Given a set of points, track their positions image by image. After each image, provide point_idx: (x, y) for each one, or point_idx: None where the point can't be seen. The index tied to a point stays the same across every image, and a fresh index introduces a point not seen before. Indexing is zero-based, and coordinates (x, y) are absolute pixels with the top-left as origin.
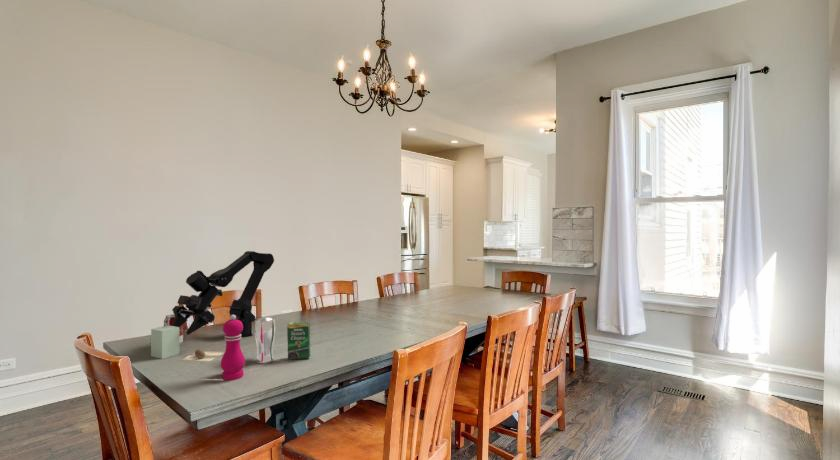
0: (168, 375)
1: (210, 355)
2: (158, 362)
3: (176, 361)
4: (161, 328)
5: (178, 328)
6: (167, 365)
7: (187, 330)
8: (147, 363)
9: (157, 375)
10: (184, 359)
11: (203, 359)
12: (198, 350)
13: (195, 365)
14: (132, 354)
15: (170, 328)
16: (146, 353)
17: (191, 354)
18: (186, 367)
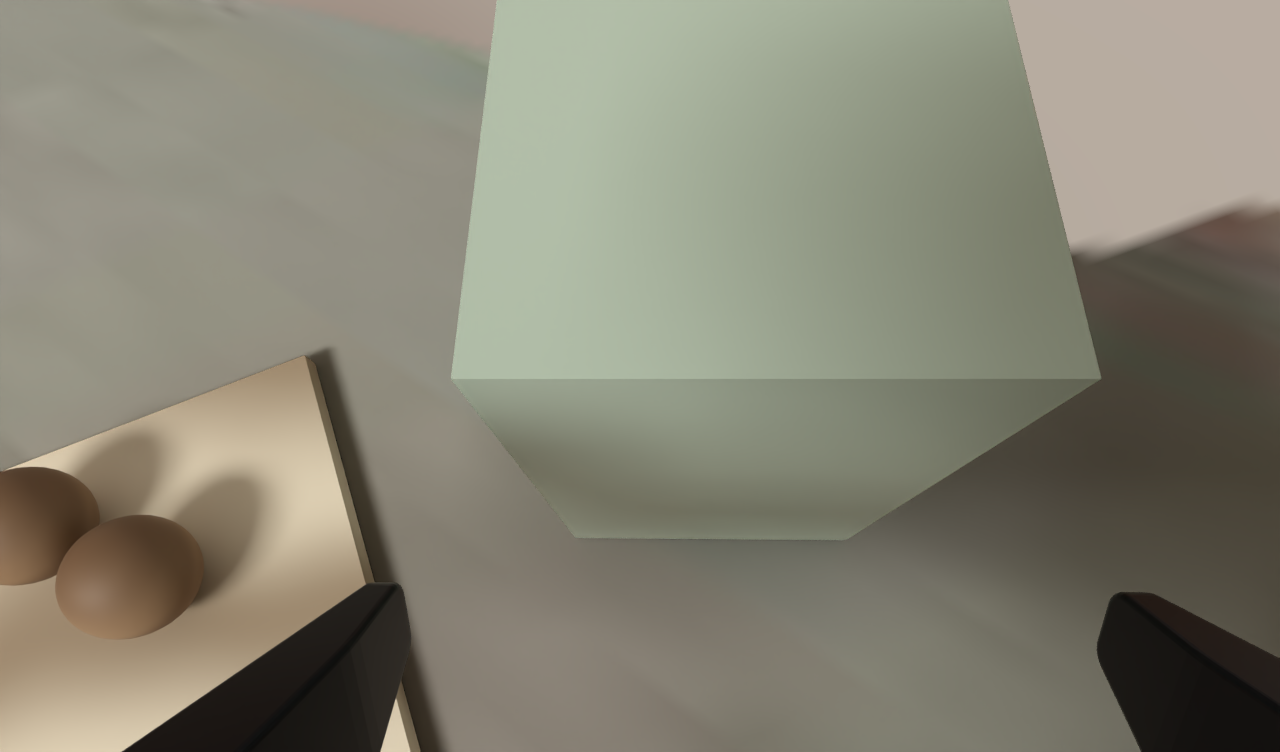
0: (87, 75)
1: (25, 718)
2: None
3: (379, 356)
4: (810, 54)
5: (465, 359)
6: (352, 226)
7: (359, 627)
8: None
9: (191, 36)
10: (271, 398)
11: None
12: (76, 546)
13: (21, 366)
14: (1205, 274)
15: (563, 155)
16: (1107, 383)
17: None
18: (80, 278)
